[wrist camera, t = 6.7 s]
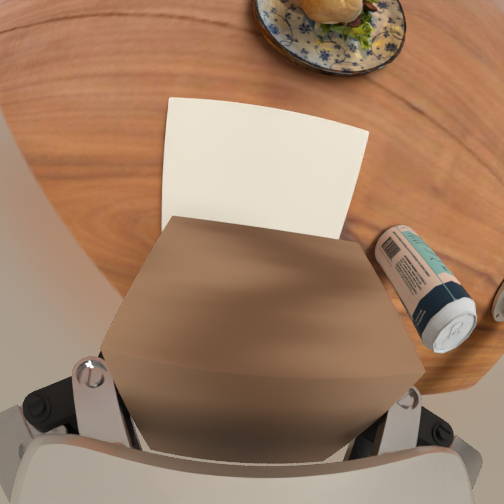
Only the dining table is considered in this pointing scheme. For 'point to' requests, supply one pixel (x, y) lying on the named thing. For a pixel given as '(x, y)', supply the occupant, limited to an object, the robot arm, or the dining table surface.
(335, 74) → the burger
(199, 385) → the walnut block
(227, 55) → the dining table surface
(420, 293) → the beer can
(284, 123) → the stone tile
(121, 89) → the dining table surface
